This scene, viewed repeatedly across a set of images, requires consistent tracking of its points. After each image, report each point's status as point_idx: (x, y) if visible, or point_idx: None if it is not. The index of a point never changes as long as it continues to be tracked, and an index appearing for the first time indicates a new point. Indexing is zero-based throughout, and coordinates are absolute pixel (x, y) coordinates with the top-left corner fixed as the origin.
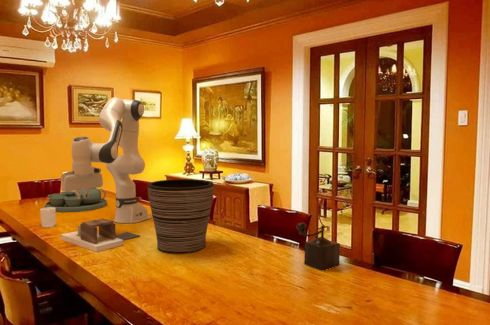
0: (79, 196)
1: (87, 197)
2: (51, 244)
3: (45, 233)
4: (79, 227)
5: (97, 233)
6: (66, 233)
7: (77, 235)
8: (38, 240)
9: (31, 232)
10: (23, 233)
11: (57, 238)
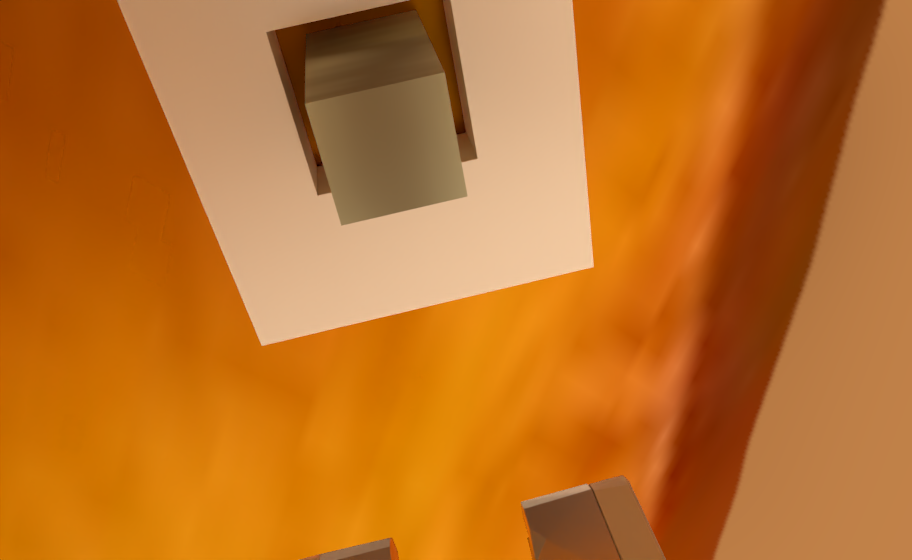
0: (655, 543)
1: (318, 557)
2: (733, 99)
3: None
4: (456, 136)
5: (183, 48)
6: (528, 279)
7: None
8: (739, 316)
9: None
10: (710, 553)
11: (584, 294)
